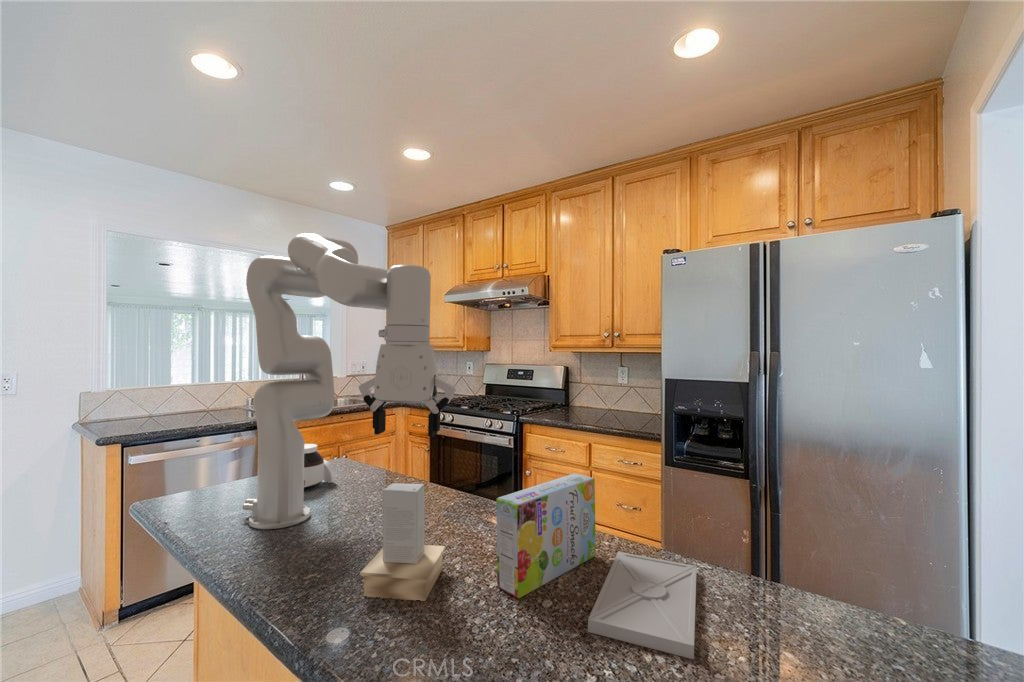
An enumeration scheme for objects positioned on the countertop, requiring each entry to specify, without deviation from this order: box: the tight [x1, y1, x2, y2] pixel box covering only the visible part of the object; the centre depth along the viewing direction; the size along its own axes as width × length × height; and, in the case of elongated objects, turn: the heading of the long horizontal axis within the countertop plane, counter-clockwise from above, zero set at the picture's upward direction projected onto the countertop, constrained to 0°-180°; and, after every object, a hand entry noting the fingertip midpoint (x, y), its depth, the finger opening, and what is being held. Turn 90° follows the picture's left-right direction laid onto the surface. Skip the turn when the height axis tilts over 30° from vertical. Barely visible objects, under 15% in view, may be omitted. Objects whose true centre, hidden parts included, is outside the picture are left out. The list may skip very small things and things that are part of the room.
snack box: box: [496, 472, 597, 599], centre depth 79 cm, size 21×6×15 cm, turn 134°
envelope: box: [587, 551, 698, 660], centre depth 71 cm, size 24×2×14 cm
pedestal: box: [359, 544, 446, 602], centre depth 75 cm, size 11×11×4 cm
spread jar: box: [304, 443, 337, 492], centre depth 127 cm, size 12×11×12 cm
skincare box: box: [382, 482, 426, 564], centre depth 75 cm, size 6×4×12 cm
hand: (406, 434), depth 78 cm, fingers open, 9 cm apart
